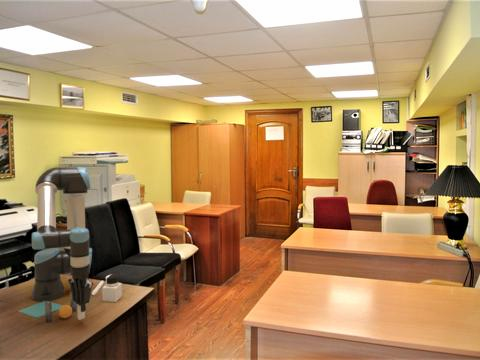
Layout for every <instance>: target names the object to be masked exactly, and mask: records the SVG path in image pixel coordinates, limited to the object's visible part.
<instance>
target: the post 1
mask: <svg viewBox="0 0 480 360" xmlns="http://www.w3.org/2000/svg"><path fill="white" fill-rule="evenodd" d="M52 301H53V300H47V301H45V315H44V317H45V323H48V324H49V323H52V322H53V312H52V303H53V302H52Z"/></svg>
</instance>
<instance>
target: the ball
mask: <svg viewBox="0 0 480 360" xmlns="http://www.w3.org/2000/svg"><path fill="white" fill-rule="evenodd" d="M72 314H73V312H72V308H71V307H70V305H69V304H64V305H62V307H61V308H60V309H58V315H59V316H60V318H62V319H67V318H69V317H70V316H72Z"/></svg>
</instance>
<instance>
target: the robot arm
mask: <svg viewBox="0 0 480 360" xmlns="http://www.w3.org/2000/svg"><path fill="white" fill-rule="evenodd" d="M89 190H91V180H90V175H89V172H88V169H87V168H86V167H81V166H76V167H75V166H71V167H69V166H68V167H51V168H49V169H46V170H45V171H44V172H43V173H42V174H41V175H40V176H39V177H38V178H37V180H36V183H35V190H34V191H35V193H36V195H37V222H36V223H37V224H36V231H34V232H32V233H31V247H32V249H33V250H39V251H37V252H36V253H35V254H34V257H33V258H34V262H33V265H34V284H33V288H32V291H31V294H30V295H31V300H33V301H37V302H43V301H47V300H51V301H53V300H56V299H60V298H61V297H63V296H64V295H65V294H66V291H65V290H66V289H65V286H64V283H63V281H62V278H61V277H62V275H65V274H70V275H71V276H72V277H71V278H69V279H68V284H69V287H70V292H71V293H72V298H73V301H75V302H76V304H77V311H76V312H77V320H79V321H80V320H83V319H85V318H86V310H87V306H86V304H89V303H90V300H91V295H92V288H93V286H94V282H93V281H92V282H91V281H90V278H89V274H90V273H91V266H92V265H91V264H92V258H93V257H92V256H93V248H92V247H90V231H89V229H88V228H86V210H85V209H86V208H85V207H86V206H85V205H86V204H85V203H86V202H85V201H86V200H85V197H86V195H87V194H88V191H89ZM58 191H62V195H64V196H65V198H66V226H67V227H66V228H67V229H61V230H60V229H59V230H57V220H56V219H57V214H56V212H57V211H56V210H57V209H56V194H57V193H58ZM60 248H64V250H61V249H60Z"/></svg>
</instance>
